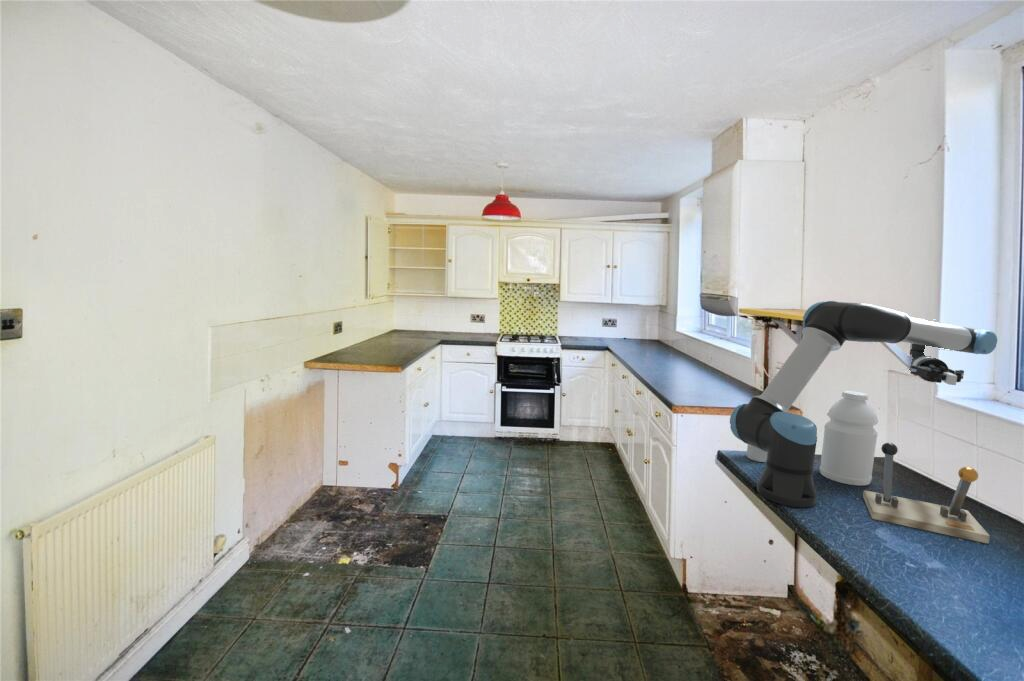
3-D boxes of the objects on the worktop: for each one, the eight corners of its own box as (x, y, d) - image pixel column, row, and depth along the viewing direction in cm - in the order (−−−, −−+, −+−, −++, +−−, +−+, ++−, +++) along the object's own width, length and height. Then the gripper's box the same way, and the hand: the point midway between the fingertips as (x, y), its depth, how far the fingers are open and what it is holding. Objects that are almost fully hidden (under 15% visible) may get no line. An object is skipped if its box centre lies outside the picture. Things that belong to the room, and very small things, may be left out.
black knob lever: (879, 500, 132) (883, 441, 136) (877, 500, 136) (880, 442, 139) (896, 503, 131) (899, 443, 134) (893, 503, 134) (896, 444, 137)
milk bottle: (773, 464, 167) (780, 407, 165) (749, 461, 169) (755, 405, 166) (766, 456, 175) (772, 401, 172) (743, 454, 176) (749, 400, 174)
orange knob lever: (944, 517, 127) (962, 472, 119) (942, 507, 129) (959, 462, 121) (963, 521, 125) (982, 476, 117) (959, 510, 128) (978, 465, 120)
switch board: (872, 518, 129) (874, 504, 128) (862, 496, 143) (864, 483, 142) (988, 543, 118) (991, 528, 117) (966, 517, 132) (968, 503, 131)
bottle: (833, 467, 167) (843, 386, 163) (879, 481, 155) (891, 395, 151) (810, 473, 160) (820, 389, 156) (857, 489, 148) (868, 399, 144)
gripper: (954, 383, 154) (981, 396, 134) (903, 377, 161) (921, 390, 140) (958, 359, 154) (986, 369, 133) (906, 355, 160) (925, 364, 139)
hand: (953, 380), depth 136 cm, fingers closed
